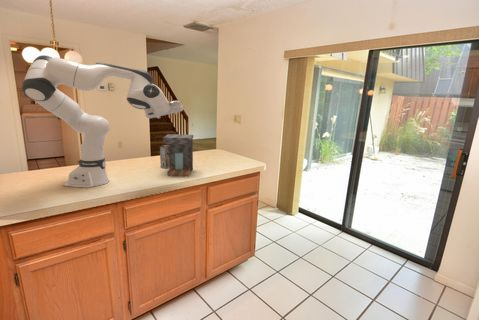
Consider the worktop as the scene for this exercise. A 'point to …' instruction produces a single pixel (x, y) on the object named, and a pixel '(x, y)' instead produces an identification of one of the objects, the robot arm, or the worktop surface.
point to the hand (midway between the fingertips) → (167, 115)
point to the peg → (179, 161)
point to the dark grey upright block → (180, 145)
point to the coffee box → (164, 156)
